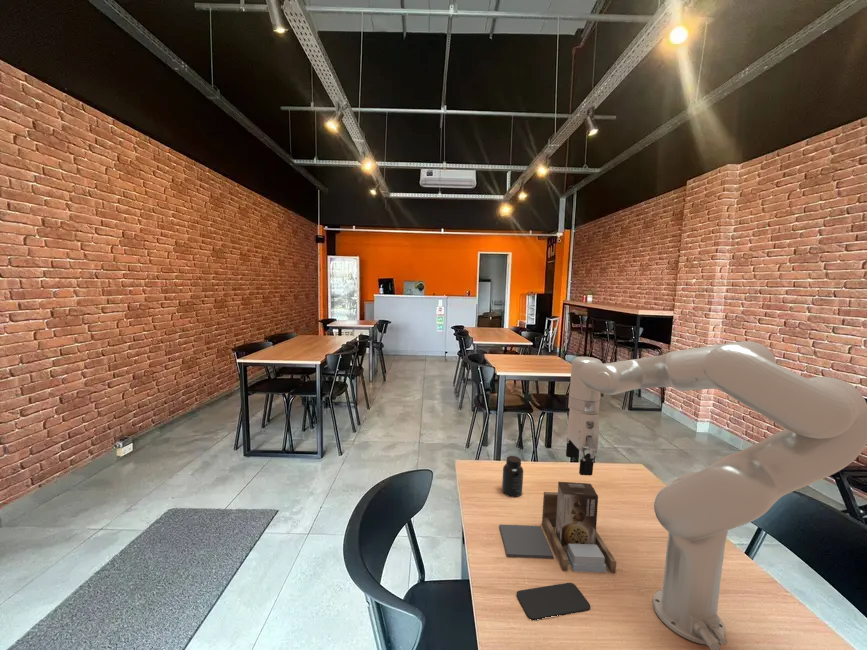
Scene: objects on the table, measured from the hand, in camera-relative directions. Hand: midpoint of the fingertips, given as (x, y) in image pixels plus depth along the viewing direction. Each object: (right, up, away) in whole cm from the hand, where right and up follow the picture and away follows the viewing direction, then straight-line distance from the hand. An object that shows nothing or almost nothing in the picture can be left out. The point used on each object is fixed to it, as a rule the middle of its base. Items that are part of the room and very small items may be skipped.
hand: (578, 465), depth 98 cm
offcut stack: (0, -23, -6) cm, 24 cm away
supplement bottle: (-12, -20, +27) cm, 35 cm away
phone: (-13, -24, -17) cm, 32 cm away
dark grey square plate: (-14, -22, +2) cm, 26 cm away
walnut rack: (-1, -22, +1) cm, 22 cm away
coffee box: (-1, -23, +2) cm, 23 cm away
